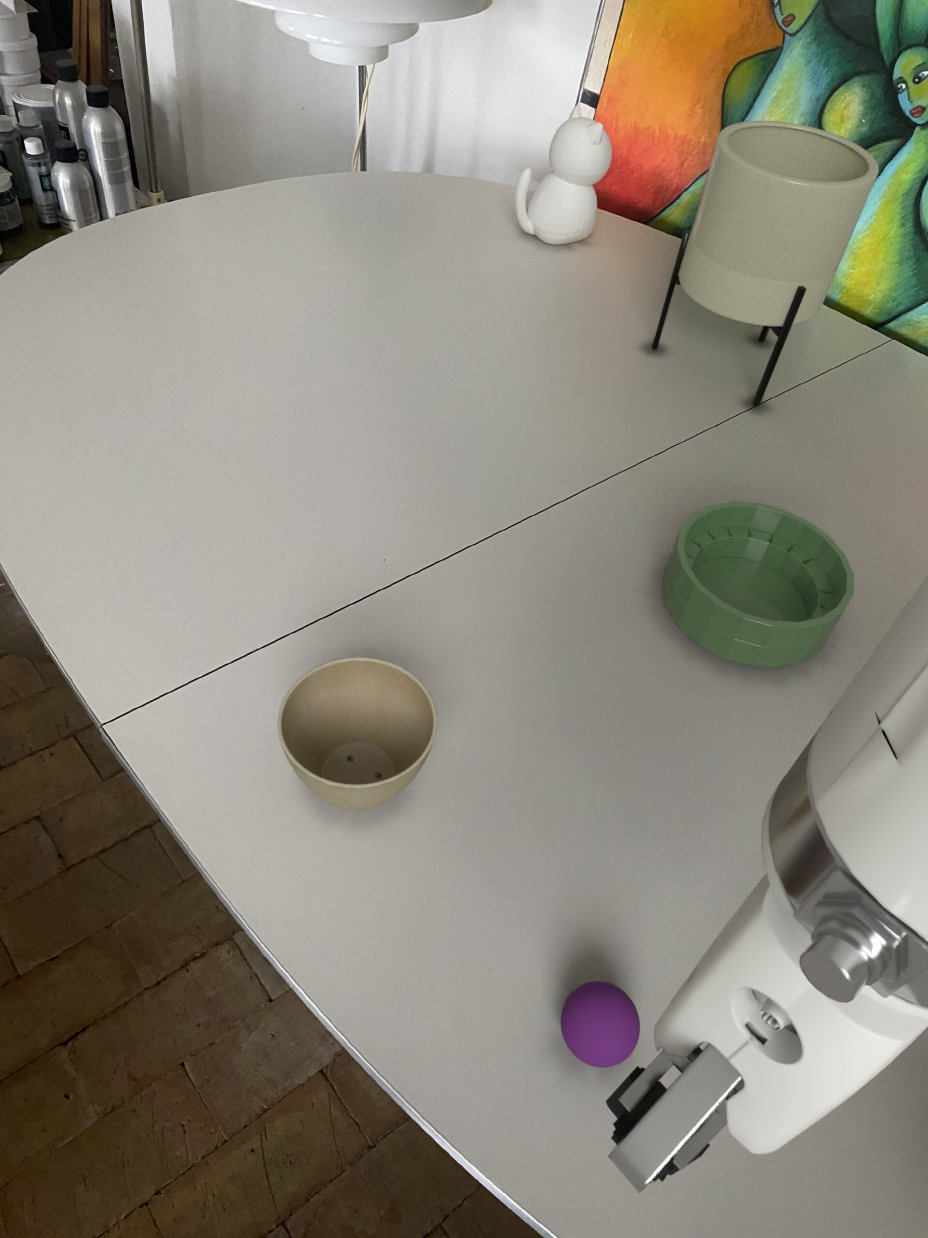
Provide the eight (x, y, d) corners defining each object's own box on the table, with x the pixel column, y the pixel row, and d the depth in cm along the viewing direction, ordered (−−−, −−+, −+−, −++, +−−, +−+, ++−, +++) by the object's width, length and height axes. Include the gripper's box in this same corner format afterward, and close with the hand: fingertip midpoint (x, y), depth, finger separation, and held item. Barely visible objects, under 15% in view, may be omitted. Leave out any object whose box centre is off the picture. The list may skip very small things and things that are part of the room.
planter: (659, 315, 106) (717, 107, 88) (791, 344, 104) (876, 137, 86) (642, 382, 96) (704, 162, 78) (787, 416, 94) (883, 198, 77)
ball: (645, 1045, 50) (665, 1021, 47) (589, 1094, 48) (606, 1073, 45) (594, 981, 53) (610, 954, 49) (539, 1025, 51) (551, 1001, 47)
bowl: (860, 624, 74) (889, 580, 70) (752, 699, 68) (776, 655, 64) (735, 527, 81) (755, 481, 77) (626, 586, 75) (641, 540, 71)
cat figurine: (609, 246, 116) (635, 125, 105) (525, 256, 113) (543, 132, 101) (578, 216, 122) (600, 98, 110) (497, 225, 118) (511, 103, 107)
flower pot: (440, 834, 58) (448, 778, 53) (287, 851, 56) (279, 795, 51) (420, 711, 64) (426, 650, 59) (283, 723, 63) (275, 661, 57)
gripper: (886, 1268, 16) (652, 1315, 29) (1192, 765, 25) (906, 974, 38) (591, 957, 20) (499, 1123, 32) (951, 607, 28) (764, 849, 41)
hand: (718, 1043), depth 35 cm, fingers open, 9 cm apart
